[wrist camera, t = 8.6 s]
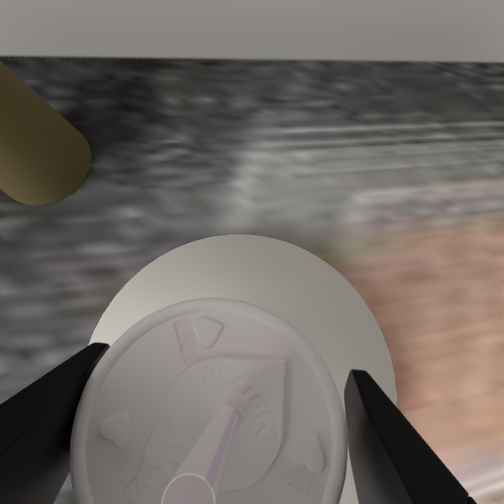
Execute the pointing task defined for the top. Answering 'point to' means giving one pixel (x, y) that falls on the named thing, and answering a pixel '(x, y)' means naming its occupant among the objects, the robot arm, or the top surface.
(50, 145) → the cork
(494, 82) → the top surface
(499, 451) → the top surface
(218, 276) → the plate
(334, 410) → the smoothie
